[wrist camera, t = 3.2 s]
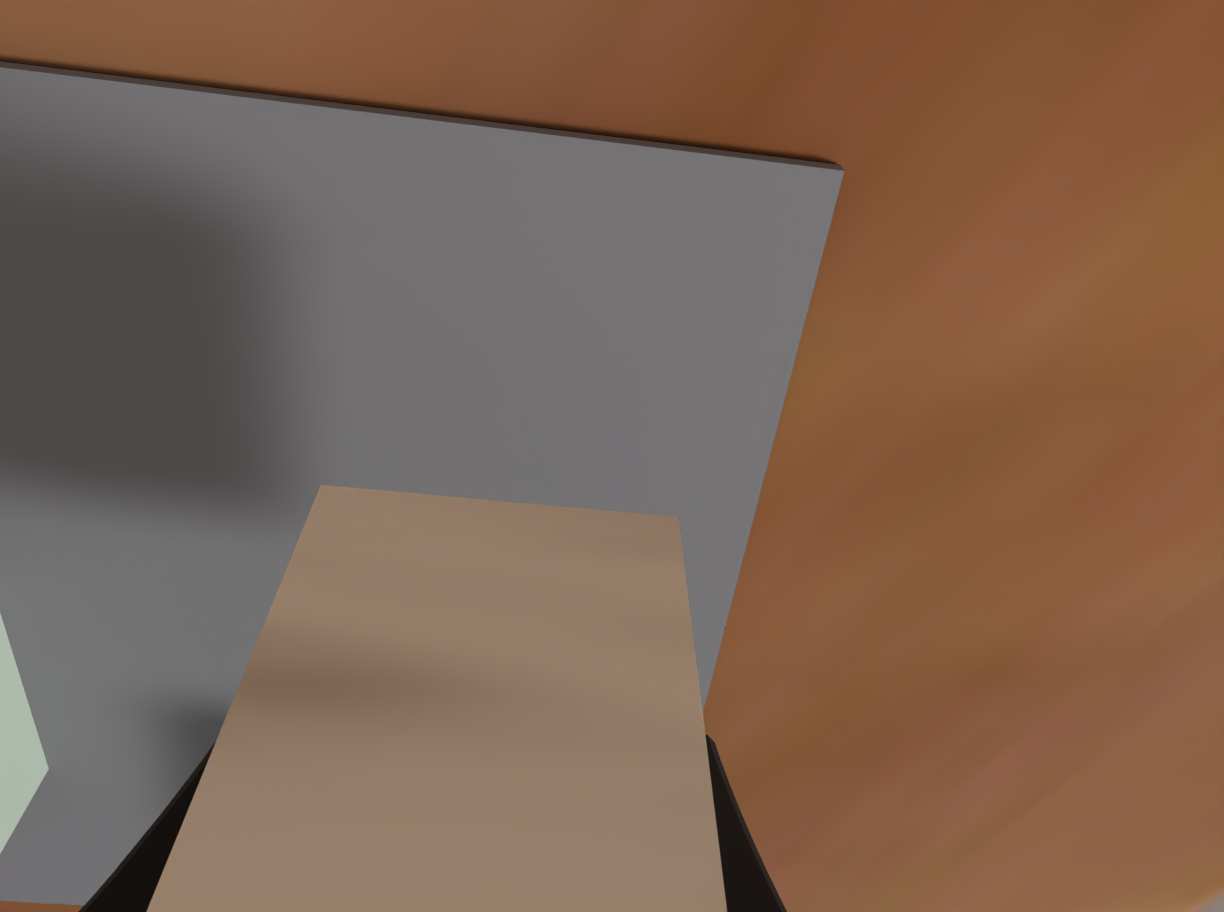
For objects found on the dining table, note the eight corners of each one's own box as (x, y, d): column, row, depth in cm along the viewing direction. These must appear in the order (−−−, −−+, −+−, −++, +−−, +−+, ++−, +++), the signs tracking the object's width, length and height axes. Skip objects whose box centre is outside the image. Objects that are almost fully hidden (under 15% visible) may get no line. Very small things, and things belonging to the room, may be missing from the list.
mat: (644, 925, 26) (644, 935, 26) (-420, 866, 24) (-431, 877, 24) (839, 164, 15) (843, 170, 14) (-1180, -85, 12) (-1216, -83, 12)
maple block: (613, 837, 14) (620, 1260, 10) (339, 820, 14) (229, 1251, 10) (677, 516, 11) (731, 949, 7) (320, 485, 11) (143, 918, 6)
